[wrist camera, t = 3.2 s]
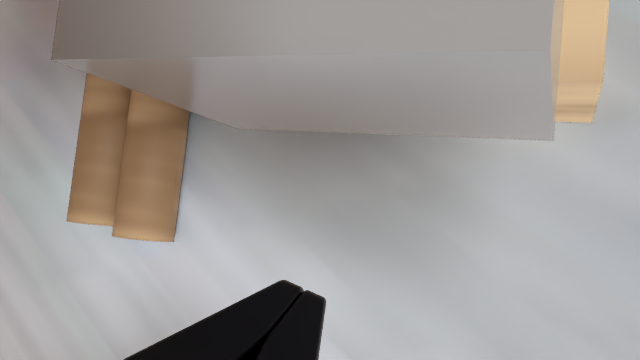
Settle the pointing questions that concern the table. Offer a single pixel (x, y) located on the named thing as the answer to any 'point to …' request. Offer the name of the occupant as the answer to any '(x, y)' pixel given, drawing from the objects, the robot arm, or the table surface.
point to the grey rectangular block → (331, 62)
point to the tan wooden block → (581, 59)
